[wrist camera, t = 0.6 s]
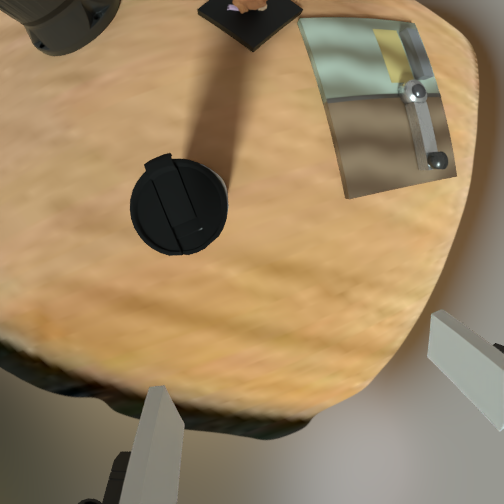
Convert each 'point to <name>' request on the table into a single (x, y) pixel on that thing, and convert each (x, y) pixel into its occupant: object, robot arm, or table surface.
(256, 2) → the figurine
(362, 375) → the table surface
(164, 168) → the travel mug
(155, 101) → the table surface
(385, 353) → the table surface
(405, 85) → the bar
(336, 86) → the door board
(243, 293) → the table surface
